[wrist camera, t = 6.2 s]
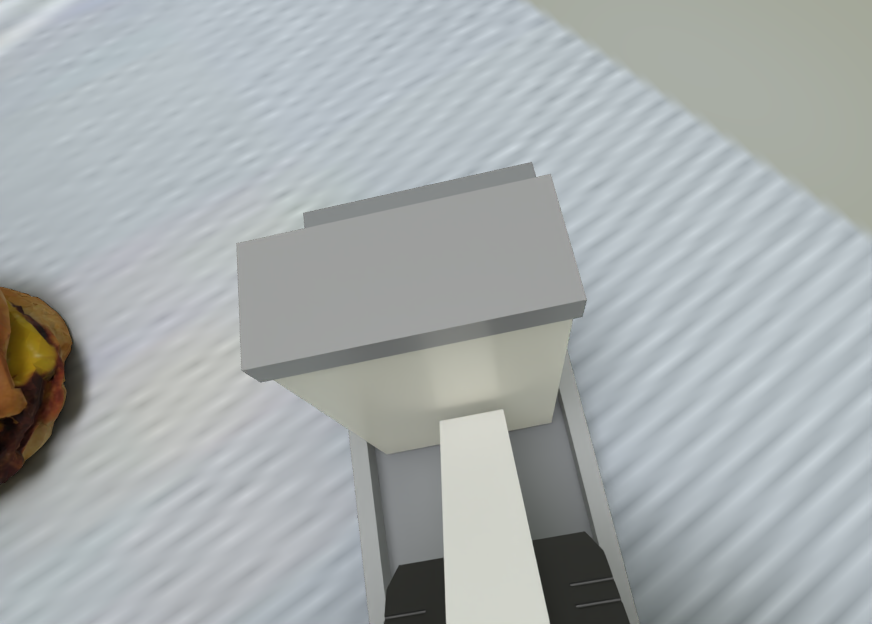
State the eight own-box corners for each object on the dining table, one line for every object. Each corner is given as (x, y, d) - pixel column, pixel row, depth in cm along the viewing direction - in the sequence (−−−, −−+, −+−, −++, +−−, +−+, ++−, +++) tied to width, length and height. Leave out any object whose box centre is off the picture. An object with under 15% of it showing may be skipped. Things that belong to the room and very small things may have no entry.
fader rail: (693, 861, 15) (758, 982, 11) (417, 900, 15) (378, 1030, 11) (530, 234, 22) (531, 162, 17) (343, 274, 22) (303, 213, 18)
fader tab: (555, 425, 17) (586, 299, 9) (384, 458, 18) (241, 370, 9) (538, 355, 18) (550, 173, 9) (374, 388, 19) (237, 243, 10)
